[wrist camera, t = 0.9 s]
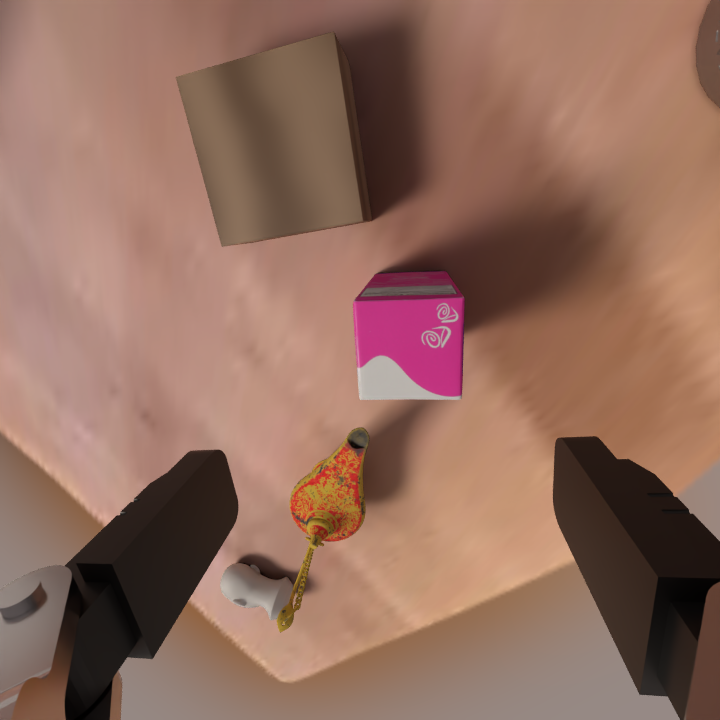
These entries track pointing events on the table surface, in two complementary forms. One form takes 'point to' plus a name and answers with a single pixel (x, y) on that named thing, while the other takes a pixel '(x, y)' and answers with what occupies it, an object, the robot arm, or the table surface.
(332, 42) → the block
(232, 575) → the smooth white sculpture
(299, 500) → the magic lamp
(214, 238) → the table surface
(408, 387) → the supplement box
